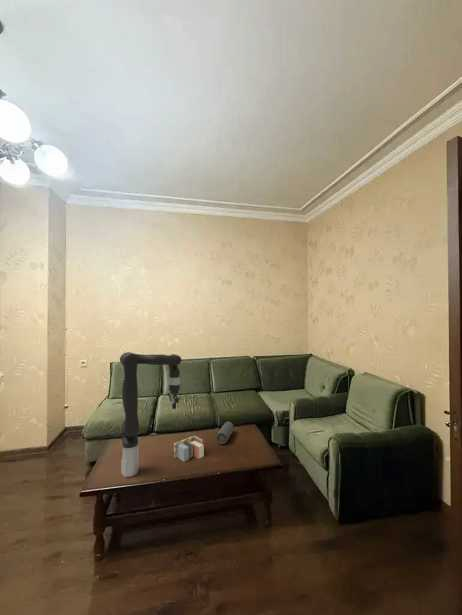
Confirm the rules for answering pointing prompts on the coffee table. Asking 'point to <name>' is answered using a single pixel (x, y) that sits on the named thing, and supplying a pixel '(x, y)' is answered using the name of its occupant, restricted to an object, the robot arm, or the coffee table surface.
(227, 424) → the bluetooth speaker
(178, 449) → the shelved book
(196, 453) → the boxed book
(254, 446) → the coffee table surface
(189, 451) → the bookend
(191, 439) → the shelf
